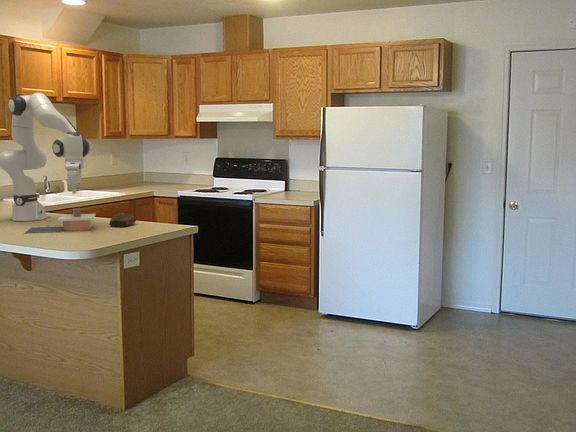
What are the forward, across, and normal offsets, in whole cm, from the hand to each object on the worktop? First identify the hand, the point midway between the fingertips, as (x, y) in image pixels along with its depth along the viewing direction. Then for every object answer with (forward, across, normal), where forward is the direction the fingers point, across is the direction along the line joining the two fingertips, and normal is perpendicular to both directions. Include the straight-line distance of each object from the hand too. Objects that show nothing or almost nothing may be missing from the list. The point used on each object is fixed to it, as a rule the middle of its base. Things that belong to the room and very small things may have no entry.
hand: (75, 192), depth 324 cm
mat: (+19, 0, -15) cm, 25 cm away
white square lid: (+13, 0, 0) cm, 13 cm away
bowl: (+19, 0, 0) cm, 19 cm away
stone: (+19, -10, +22) cm, 31 cm away
